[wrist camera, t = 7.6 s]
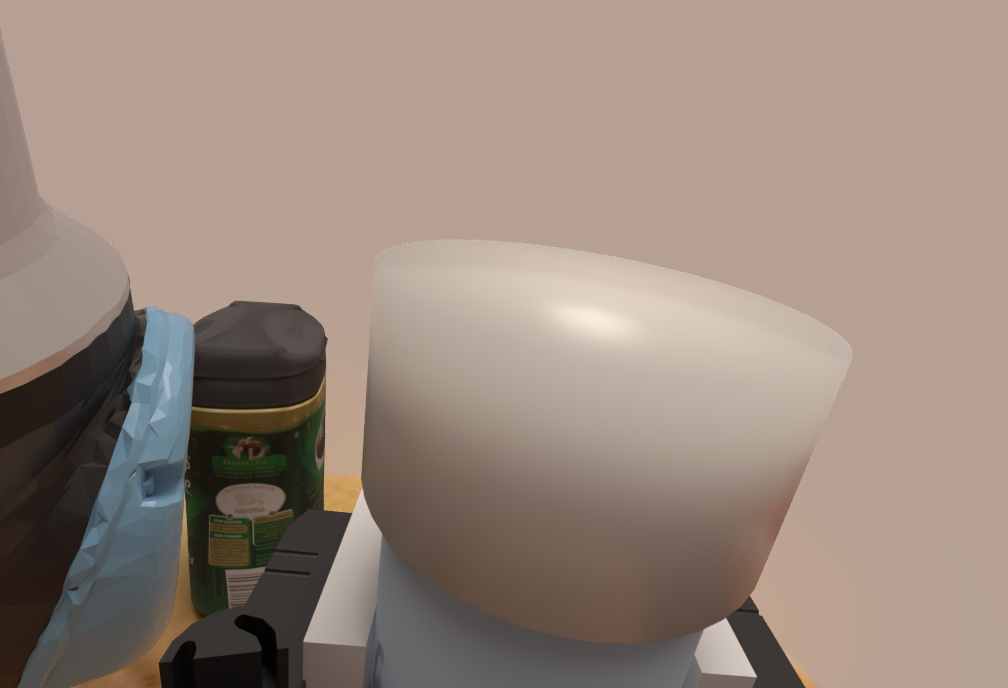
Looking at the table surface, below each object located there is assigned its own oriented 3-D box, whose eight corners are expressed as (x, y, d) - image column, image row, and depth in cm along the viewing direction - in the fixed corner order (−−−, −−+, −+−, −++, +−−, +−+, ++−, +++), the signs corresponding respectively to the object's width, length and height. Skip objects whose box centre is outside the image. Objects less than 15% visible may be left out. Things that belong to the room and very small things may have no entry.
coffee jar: (216, 524, 38) (202, 287, 31) (326, 518, 40) (333, 296, 34) (171, 637, 29) (140, 340, 23) (316, 621, 31) (322, 347, 25)
